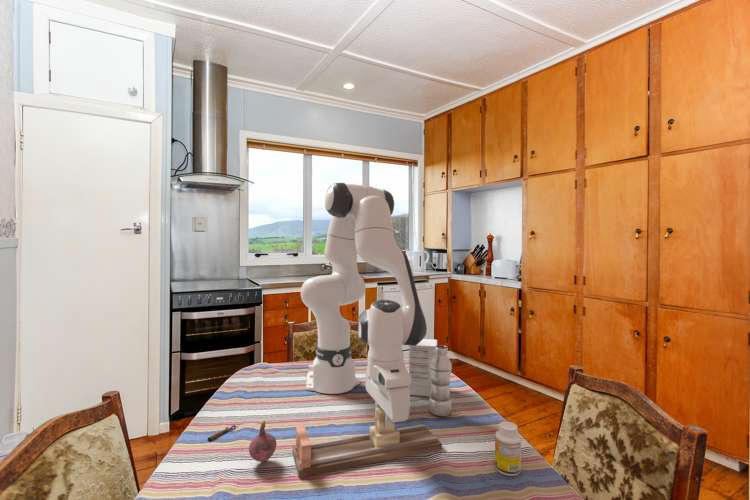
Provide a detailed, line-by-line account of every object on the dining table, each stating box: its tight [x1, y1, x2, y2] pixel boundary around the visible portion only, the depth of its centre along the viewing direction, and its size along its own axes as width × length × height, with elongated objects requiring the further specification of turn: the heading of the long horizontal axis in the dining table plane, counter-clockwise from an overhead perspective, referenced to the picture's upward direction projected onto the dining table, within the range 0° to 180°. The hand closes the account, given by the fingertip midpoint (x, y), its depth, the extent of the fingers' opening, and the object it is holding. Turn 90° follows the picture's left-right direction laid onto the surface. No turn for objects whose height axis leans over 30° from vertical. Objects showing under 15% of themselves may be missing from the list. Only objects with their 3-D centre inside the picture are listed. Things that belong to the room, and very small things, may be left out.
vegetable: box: [248, 420, 277, 464], centre depth 88 cm, size 6×6×10 cm
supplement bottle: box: [494, 420, 522, 477], centre depth 87 cm, size 6×6×10 cm
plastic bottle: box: [428, 345, 453, 417], centre depth 113 cm, size 6×7×20 cm
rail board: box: [292, 423, 443, 479], centre depth 93 cm, size 10×35×6 cm, turn 110°
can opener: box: [207, 424, 239, 442], centre depth 101 cm, size 9×2×1 cm, turn 146°
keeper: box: [369, 407, 400, 448], centre depth 95 cm, size 5×6×8 cm
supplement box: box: [408, 338, 438, 398], centre depth 130 cm, size 10×9×17 cm
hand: (384, 423), depth 95 cm, fingers closed on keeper, 3 cm apart
